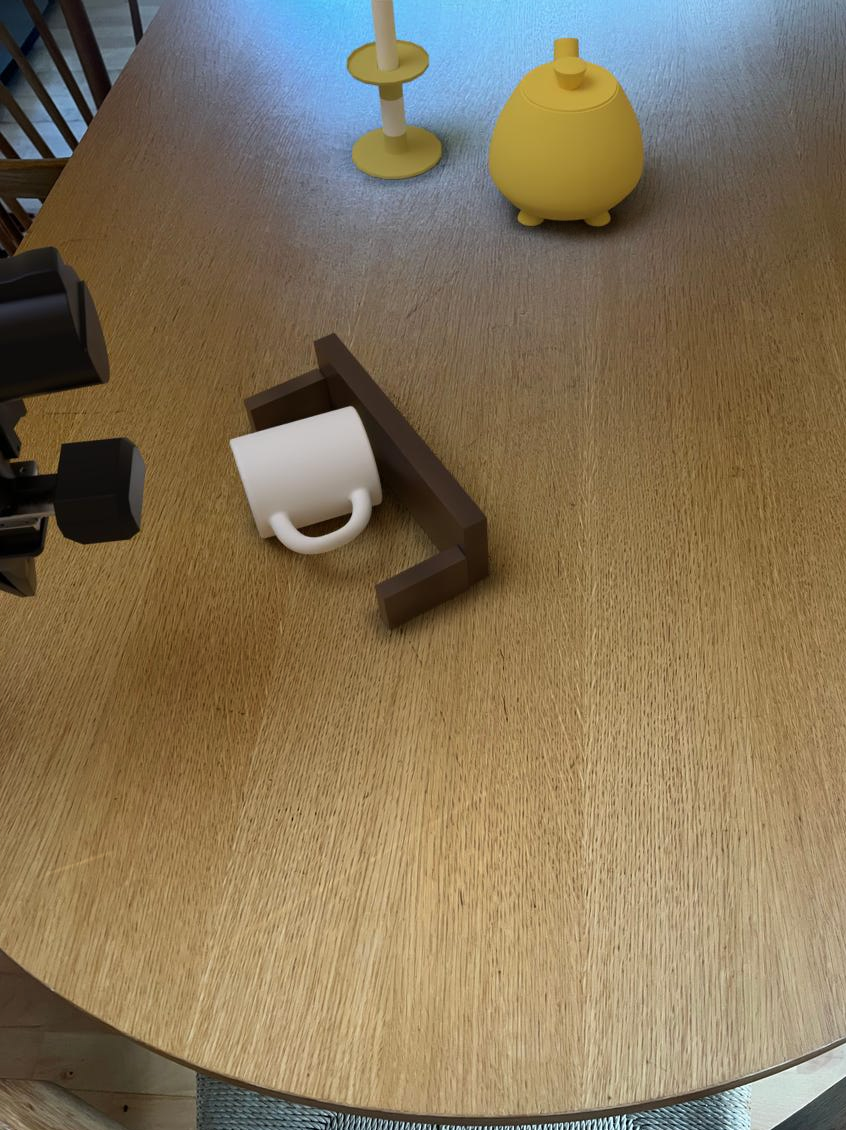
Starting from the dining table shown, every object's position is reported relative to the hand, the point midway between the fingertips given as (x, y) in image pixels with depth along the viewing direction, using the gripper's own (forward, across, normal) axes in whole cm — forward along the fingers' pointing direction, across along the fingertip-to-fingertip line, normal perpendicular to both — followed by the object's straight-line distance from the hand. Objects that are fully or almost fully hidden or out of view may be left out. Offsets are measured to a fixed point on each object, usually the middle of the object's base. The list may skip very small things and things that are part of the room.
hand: (30, 591), depth 64 cm
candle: (+12, -27, -65) cm, 71 cm away
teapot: (+12, -44, -56) cm, 72 cm away
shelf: (+12, -21, -15) cm, 28 cm away
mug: (+12, -17, -13) cm, 25 cm away
